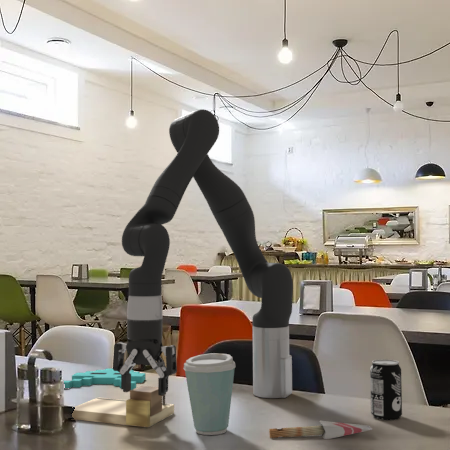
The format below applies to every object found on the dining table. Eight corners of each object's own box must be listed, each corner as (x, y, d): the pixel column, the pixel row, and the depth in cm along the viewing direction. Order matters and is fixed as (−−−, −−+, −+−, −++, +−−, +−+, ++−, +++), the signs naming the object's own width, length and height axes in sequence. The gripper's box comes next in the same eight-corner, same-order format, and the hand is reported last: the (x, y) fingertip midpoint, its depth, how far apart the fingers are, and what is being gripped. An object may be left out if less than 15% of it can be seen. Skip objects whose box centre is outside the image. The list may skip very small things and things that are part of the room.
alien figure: (134, 391, 168) (150, 376, 188) (134, 383, 168) (150, 368, 188) (60, 390, 170) (84, 375, 190) (60, 382, 170) (84, 368, 190)
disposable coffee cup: (218, 441, 122) (217, 362, 123) (172, 433, 128) (172, 358, 129) (245, 428, 131) (245, 354, 132) (202, 421, 137) (202, 350, 138)
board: (174, 413, 144) (174, 403, 144) (148, 427, 133) (148, 417, 133) (98, 405, 151) (98, 397, 151) (67, 418, 140) (67, 409, 140)
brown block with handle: (174, 412, 143) (174, 381, 143) (147, 427, 131) (147, 394, 131) (154, 410, 145) (154, 380, 145) (126, 424, 133) (126, 392, 133)
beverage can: (403, 414, 141) (402, 359, 142) (401, 422, 135) (400, 365, 135) (372, 412, 143) (371, 358, 144) (369, 419, 137) (368, 363, 138)
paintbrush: (372, 422, 124) (270, 429, 123) (373, 437, 124) (271, 443, 123) (367, 417, 128) (268, 423, 127) (368, 431, 128) (269, 437, 127)
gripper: (182, 316, 138) (182, 392, 137) (125, 313, 143) (124, 387, 142) (166, 319, 131) (165, 400, 130) (106, 317, 136) (105, 394, 135)
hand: (144, 393), depth 136 cm, fingers open, 8 cm apart
